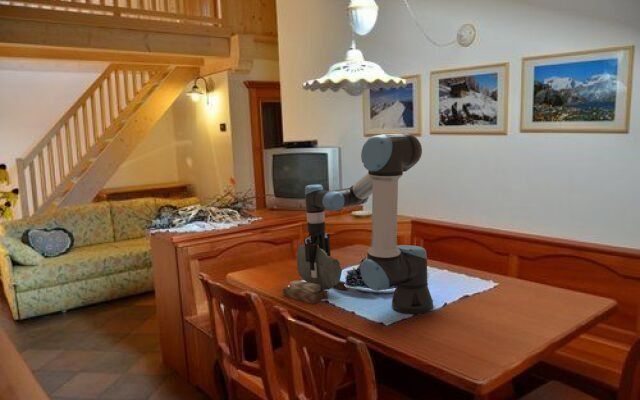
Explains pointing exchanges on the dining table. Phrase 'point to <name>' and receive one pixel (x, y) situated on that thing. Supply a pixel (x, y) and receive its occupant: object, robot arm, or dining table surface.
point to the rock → (319, 268)
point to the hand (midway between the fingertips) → (319, 275)
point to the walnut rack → (309, 297)
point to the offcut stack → (305, 287)
